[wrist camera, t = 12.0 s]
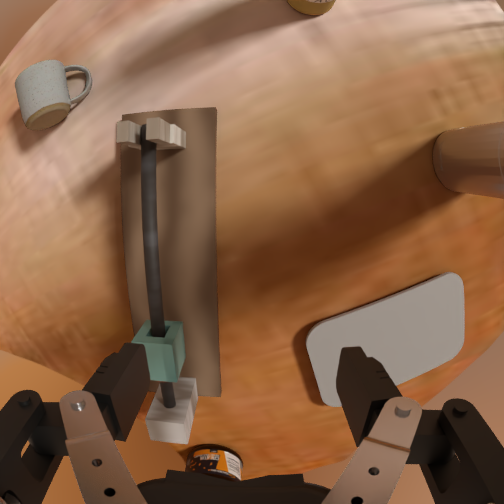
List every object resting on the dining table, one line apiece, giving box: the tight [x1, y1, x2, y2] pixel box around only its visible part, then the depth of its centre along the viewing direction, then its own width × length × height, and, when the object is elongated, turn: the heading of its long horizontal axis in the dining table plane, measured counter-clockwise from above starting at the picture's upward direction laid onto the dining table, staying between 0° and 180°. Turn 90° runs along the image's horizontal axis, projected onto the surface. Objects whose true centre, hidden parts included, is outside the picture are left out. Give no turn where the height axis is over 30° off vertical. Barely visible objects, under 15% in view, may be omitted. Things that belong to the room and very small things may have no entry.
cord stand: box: [116, 107, 221, 444], centre depth 34 cm, size 12×40×12 cm, turn 179°
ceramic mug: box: [15, 60, 92, 131], centre depth 31 cm, size 11×8×8 cm
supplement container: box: [185, 445, 243, 482], centre depth 43 cm, size 10×10×12 cm
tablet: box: [306, 272, 464, 407], centre depth 42 cm, size 16×26×2 cm, turn 109°
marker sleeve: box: [131, 320, 186, 382], centre depth 34 cm, size 5×5×6 cm
